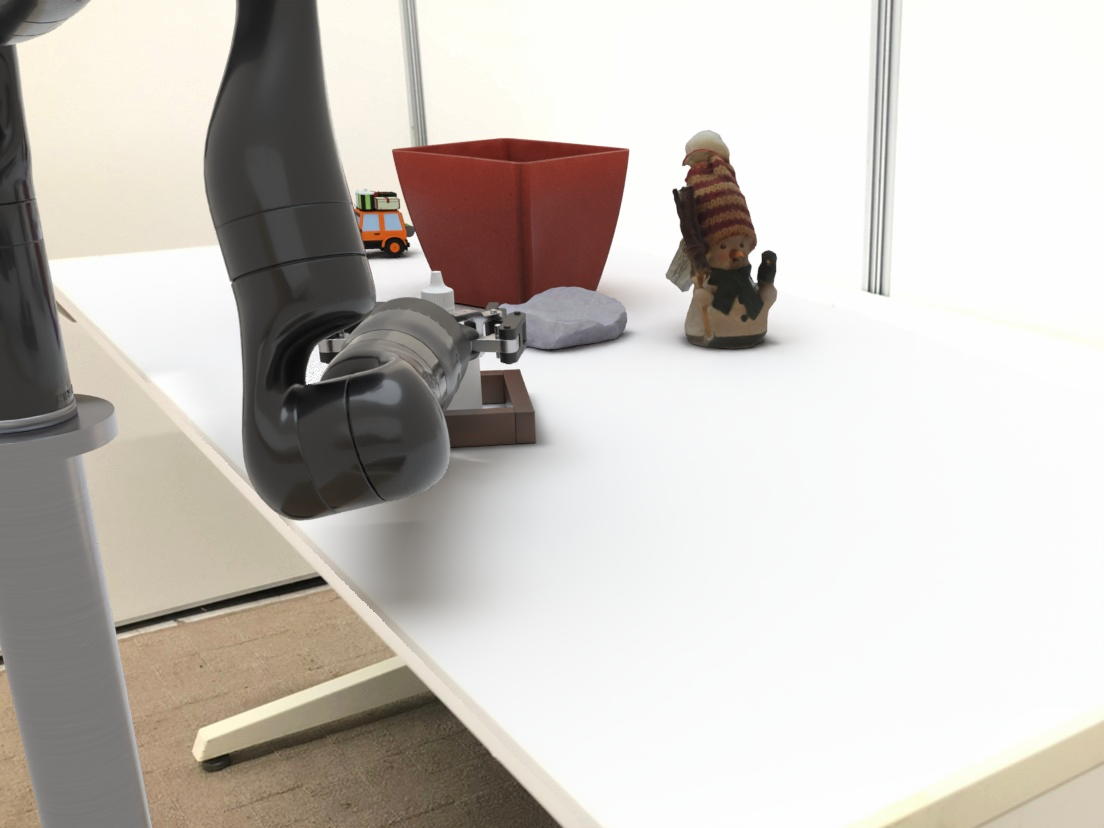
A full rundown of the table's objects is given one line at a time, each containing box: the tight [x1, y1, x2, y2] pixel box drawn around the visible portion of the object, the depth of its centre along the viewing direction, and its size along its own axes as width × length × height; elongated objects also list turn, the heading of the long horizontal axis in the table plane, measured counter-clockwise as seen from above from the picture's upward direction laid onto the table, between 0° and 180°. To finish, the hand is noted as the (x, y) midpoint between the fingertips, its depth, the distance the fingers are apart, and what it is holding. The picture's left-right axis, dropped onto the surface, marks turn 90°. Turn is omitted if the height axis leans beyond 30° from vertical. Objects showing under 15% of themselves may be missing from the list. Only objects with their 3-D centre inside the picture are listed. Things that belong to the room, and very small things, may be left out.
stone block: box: [499, 287, 628, 350], centre depth 129 cm, size 12×5×10 cm
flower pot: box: [391, 137, 630, 308], centre depth 143 cm, size 19×19×17 cm
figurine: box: [665, 129, 778, 350], centre depth 127 cm, size 13×12×20 cm
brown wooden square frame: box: [443, 368, 537, 448], centre depth 101 cm, size 13×13×2 cm
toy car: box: [353, 188, 416, 259], centre depth 170 cm, size 7×12×9 cm, turn 121°
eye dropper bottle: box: [420, 271, 483, 410], centre depth 99 cm, size 4×6×12 cm
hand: (438, 315), depth 98 cm, fingers open, 8 cm apart
